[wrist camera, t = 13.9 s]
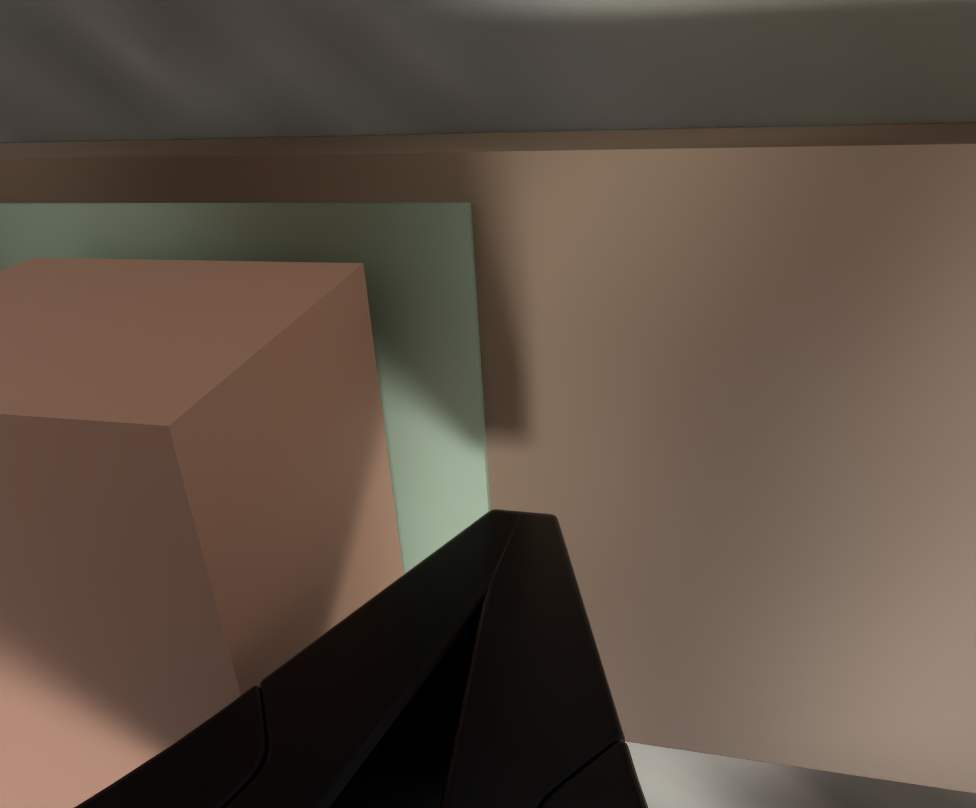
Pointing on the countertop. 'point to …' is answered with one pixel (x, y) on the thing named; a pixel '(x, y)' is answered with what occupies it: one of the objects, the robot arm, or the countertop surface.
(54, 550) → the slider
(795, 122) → the countertop surface
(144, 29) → the countertop surface
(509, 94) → the countertop surface
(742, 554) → the switch base
